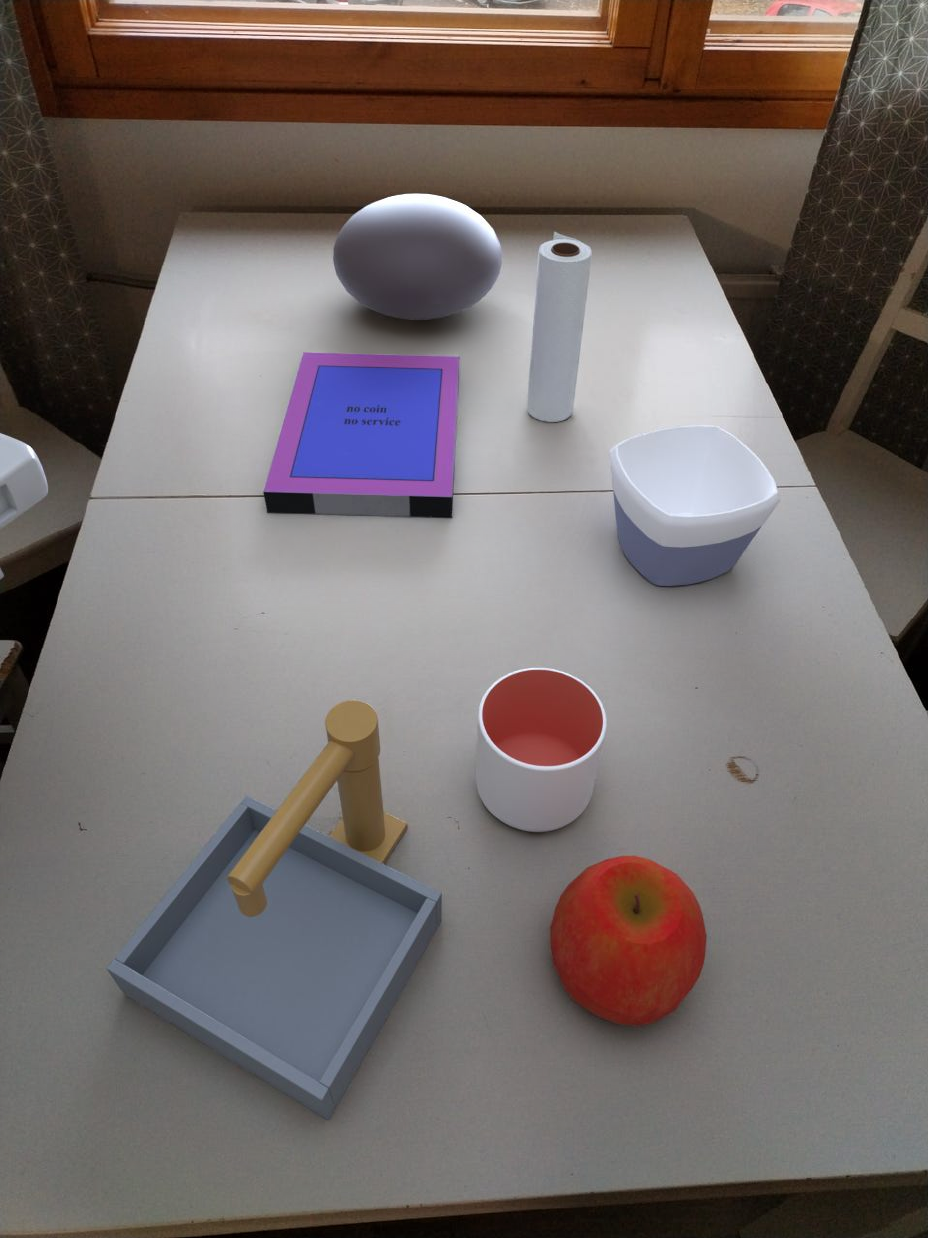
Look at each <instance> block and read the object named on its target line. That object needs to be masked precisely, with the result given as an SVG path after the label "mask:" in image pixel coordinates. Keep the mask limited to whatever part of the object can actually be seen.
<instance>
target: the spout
mask: <svg viewBox="0 0 928 1238" xmlns="http://www.w3.org/2000/svg"><path fill="white" fill-rule="evenodd" d="M378 718H379V717H378V714H377V711H376V710H375V709H374V707H373V706H372V705H370V704H369V703H367V702H365V701H363V700H358V699H350V700H349V699H348V700H345V701H341V702H338V703H337V704H335V705H334V706H333V707H332V708H331V709H330V710H329V711H328V712H327V715H326V717H325V721H324V726H325V732H326V737H327V743H326V745H325V746H324V747H323V748H322V750H321V751H320V753H319V754H318V755H317V757H316V758H315V759H314V761H313V762H312V763H311V765H310V766H309V767H308V769H306V771H305V772H304V774H303V775H302V776H301V778H300V779H299V780H298V781H297V783H296V785H295V786H294V787H293V789H292V790H291V791H290V793H289V794H288V795H287V797H286V798H285V799H284V801H283V802H282V803H281V804H280V806H279V807H278V809H276V810H277V811H276V813H275V814H274V815H273V816H272V818H271V819H270V820H269V822H268V823H267V824H266V826H265V827H264V828H263V830H262V831H261V832H260V834H259V835H258V836H257V838H256V839H255V840H254V842H253V843H252V844H251V846H250V847H249V848H248V850H247V851H246V852H245V854H244V855H243V856H242V858H241V859H240V860H239V862H238V863H237V864H236V866H235V867H234V868H233V870H232V871H231V872H230V874H229V875H228V876H227V881H228V882H229V884H230V885H231V888H232V891H233V894H234V897H235V899H236V902H237V905H238V907H239V910H240V912H241V913H242V914H243V915H245V916H247V917H254V916H257V915H259V914H261V913H262V912H263V911H264V910H265V908H266V906H267V897H266V894H265V891H264V888H263V885H262V884H263V882H264V881H265V880H266V878H267V877H268V875H269V874H270V873H271V871H272V870H273V868H274V867H275V866H276V864H277V863H278V861H279V860H280V859H281V857H282V856H283V854H284V853H285V852H286V850H287V849H288V848H289V846H290V845H291V843H292V842H293V841H294V839H295V838H296V836H297V835H298V834H299V832H300V831H301V829H302V828H303V827H304V825H307V823H308V821H309V820H310V819H311V817H312V816H313V814H314V813H315V812H316V810H317V808H318V807H319V806H320V804H321V803H322V802H323V800H324V799H325V798H326V796H327V795H328V793H329V792H330V791H331V789H332V788H333V787H334V785H335V783H337V779H338V778H339V777H340V775H341V774H342V772H343V771H344V770H347V771H360V770H364V769H366V768H368V767H370V766H371V765H373V764H374V763H375V761H376V760H377V759H378V758H379V757H380V754H381V741H380V727H379V719H378Z"/></svg>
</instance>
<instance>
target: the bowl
mask: <svg viewBox="0 0 928 1238" xmlns="http://www.w3.org/2000/svg"><path fill="white" fill-rule="evenodd" d="M608 454H609V455H608V456H609V466H610V467H609V468H610V475H611V487H612V494H613V503H614V514H615V524H616V532H617V533H616V535H617V539H618V542H619V544H620V547H621V549H622V552H623V554H624V555H625V557H626V559H627V560H628V561H629V562H630V564H631V565H632V566H633V567H634V569H636V571H637V572H639V573H640V574H641V575H642V576H643V577H644V578H645V579H646V581H648V582H650V583H651V584H653V585H654V586H661V587H674V586H686V585H692V584H698V583H703V582H706V581H709V580H712V579H715V578H717V577H720V576H722V575H724V574H726V573H727V572H729V571H731V570H732V569H733V568H734V566H735V565H736V564H737V562H738V561H739V560H740V558H741V557H742V555H743V554H744V552H745V550H747V548H748V547H749V545H750V544H751V542H752V541H753V540H754V538H755V537H756V536H757V534H758V532H759V531H760V530H761V528H762V527H763V526H764V524H765V523H767V520H768V519H769V518H770V516H771V515H772V513H773V512H774V511H775V509H776V508H777V506H778V505H779V503H780V502H781V498H780V493H779V490H778V485H777V483H776V480H775V478H774V477H773V476H772V474H771V473H770V471H769V469H768V468H767V466H765V464H764V463H763V462H762V460H761V459H760V458H759V456H758V455H757V454H756V453H755V452H754V451H753V450H752V449H750V448H749V446H747V445H746V444H745V443H744V442H742V441H741V440H740V439H738V437H736V435H734V434H733V433H730V432H729V431H727V430H726V429H724V428H722V427H720V426H718V425H712V424H711V425H709V424H691V425H679V426H671V427H665V428H659V429H654V430H651V431H647V432H643V433H639V434H636V435H633V436H631V437H628V438H626V439H624V440H622V441H620V442H619V443H616V444H615V445H614V446H613V447H612V448H611V449H610V451H609V453H608Z"/></svg>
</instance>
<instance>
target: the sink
mask: <svg viewBox="0 0 928 1238" xmlns="http://www.w3.org/2000/svg"><path fill="white" fill-rule="evenodd" d="M277 810H278V809H275V808H272V807H271V806H269V805H267V804H265V803H263V802H260V801H258V800H257V799H255V798H252V797H251V796H249V795H244V797H243V799H242V800H241V801H240V802H239V803H238V805H237V806H236V807H235V808H234V809H233V811H231V813H230V815H229V816H228V817H227V818H226V819H225V821H224V822H223V823H222V824H221V826H220V827H219V828H218V829H217V831H215V833H214V834H213V836H212V837H211V838H209V841H208V842H206V843H205V845H204V846H203V848H202V849H201V851H200V852H199V853H198V854H197V856H196V857H195V858H194V859H193V860H192V861H191V863H190V864H189V865H188V866H187V868H185V870H184V871H183V872H182V874H181V875H180V876H179V878H178V879H177V880H176V881H175V882H174V884H173V885H172V886H171V887H170V889H169V890H168V891H167V893H166V894H165V895H164V896H163V898H161V900H160V901H159V903H158V904H157V905H156V906H155V907H154V909H152V911H151V912H150V913H149V915H148V916H147V917H146V919H144V921H142V924H140V925H139V927H138V928H137V930H136V931H135V932H134V933H133V934H132V936H131V937H130V938H129V939H128V941H127V942H126V943H125V944H124V945H123V947H122V948H121V949H120V951H119V952H118V953H117V955H115V957H114V959H112V961H111V962H110V963H109V964H108V966H107V967H106V971H107V972H108V973H109V975H110V977H111V978H112V979H113V981H114V982H115V983H116V985H117V987H118V988H119V990H120V991H121V992H122V994H123V995H125V996H126V997H128V998H129V999H131V1000H133V1001H134V1002H135V1003H137V1004H139V1005H141V1006H143V1007H144V1008H145V1009H148V1010H149V1011H150V1012H153V1013H154V1014H155V1015H156V1016H159V1017H160V1018H162V1019H163V1020H165V1021H167V1022H168V1023H170V1024H171V1025H173V1026H175V1027H176V1028H178V1029H180V1030H181V1031H182V1032H184V1033H186V1034H187V1035H189V1036H191V1037H193V1038H194V1039H195V1040H197V1041H199V1042H201V1043H202V1044H203V1045H205V1046H207V1047H209V1048H210V1049H212V1050H213V1051H215V1052H217V1053H218V1054H220V1055H222V1056H223V1057H225V1058H226V1059H228V1060H229V1061H231V1062H233V1063H234V1064H236V1065H238V1066H239V1067H241V1068H242V1069H244V1070H246V1071H247V1072H249V1073H251V1074H252V1075H254V1076H256V1078H259V1079H261V1080H262V1081H264V1082H265V1083H267V1084H268V1085H270V1086H272V1087H273V1088H275V1089H276V1090H278V1091H280V1092H282V1093H283V1094H284V1095H286V1096H288V1097H290V1099H293V1100H294V1101H296V1102H298V1103H299V1104H301V1105H303V1106H304V1107H305V1108H307V1109H309V1110H311V1111H312V1112H314V1113H315V1114H317V1115H318V1116H320V1117H322V1118H324V1119H325V1120H327V1121H330V1119H331V1117H332V1115H333V1113H334V1112H335V1110H336V1108H337V1106H338V1105H339V1103H340V1101H341V1100H342V1098H343V1096H344V1094H345V1092H346V1091H347V1090H348V1087H349V1085H350V1084H351V1082H352V1080H353V1078H354V1076H355V1075H356V1073H357V1071H358V1070H359V1067H360V1066H361V1064H362V1063H363V1060H364V1059H365V1057H366V1055H367V1053H368V1052H369V1050H370V1048H371V1046H372V1045H373V1043H374V1041H375V1039H376V1037H377V1036H378V1034H379V1032H380V1030H381V1029H382V1027H383V1025H384V1024H385V1022H386V1020H387V1018H388V1017H389V1014H390V1013H391V1011H392V1009H393V1007H394V1006H395V1004H396V1003H397V1000H398V998H399V997H400V995H401V993H402V992H403V990H404V988H405V986H406V984H407V983H408V982H409V979H410V978H411V975H412V974H413V972H414V970H415V969H416V967H417V965H418V963H419V961H420V960H421V958H422V956H423V955H424V952H425V951H426V949H427V947H428V946H429V944H430V942H431V941H432V938H433V937H434V935H435V934H436V931H437V930H438V928H439V926H440V924H441V922H442V919H443V918H442V917H443V916H442V915H443V911H442V910H443V909H442V908H443V906H442V905H443V903H442V898H443V897H442V896H443V895H442V894H443V893H442V892H440V891H438V890H437V889H435V888H432V887H430V886H429V885H427V884H425V883H423V882H420V881H419V880H417V879H414V878H412V877H411V876H409V875H406V874H404V873H402V872H400V871H399V870H396V869H394V868H393V867H390V866H388V865H387V864H382V863H380V862H378V861H376V860H374V859H372V858H370V857H368V856H366V855H364V854H362V853H360V852H358V851H356V850H354V849H352V848H350V847H348V846H346V845H344V844H342V843H340V842H338V841H336V840H334V839H333V838H331V837H329V836H330V835H329V836H328V835H326V834H325V833H322V832H321V831H318V830H316V829H315V828H313V827H310V826H309V825H307V824H305V825H304V827H303V828H302V829H301V831H300V832H299V834H298V835H297V836H296V838H295V839H294V841H293V842H292V843H291V845H290V846H289V848H288V849H287V850H286V852H285V853H284V854H283V856H282V857H281V859H280V860H279V861H278V863H277V864H276V866H275V867H274V868H273V870H272V871H271V873H270V874H269V875H268V877H267V878H266V880H265V881H264V882H263V884H262V885H263V888H264V891H265V894H266V897H267V906H266V908H265V910H264V911H263V912H262V913H261V914H259V915H257V916H254V917H247V916H245V915H243V914H242V913H241V912H240V910H239V907H238V905H237V902H236V899H235V897H234V894H233V891H232V888H231V885H230V884H229V882H228V881H227V876H228V875H229V874H230V872H231V871H232V870H233V868H234V867H235V866H236V864H237V863H238V862H239V860H240V859H241V858H242V856H243V855H244V854H245V852H246V851H247V850H248V848H249V847H250V846H251V844H252V843H253V842H254V840H255V839H256V838H257V836H258V835H259V834H260V832H261V831H262V830H263V828H264V827H265V826H266V824H267V823H268V822H269V820H270V819H271V818H272V816H273V815H274V814H275V813H276V811H277Z"/></svg>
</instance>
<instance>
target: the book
mask: <svg viewBox="0 0 928 1238" xmlns="http://www.w3.org/2000/svg"><path fill="white" fill-rule="evenodd" d="M460 359H461V357H460V356H459V355H427V354H425V355H424V354H423V355H422V354H390V353H389V354H388V353H387V354H386V353H385V354H384V353H350V352H349V353H348V352H347V353H346V352H313V351H312V352H310V351H303V352H302V355H301V359H300V362H299V366H298V369H297V371H296V376H295V379H294V383H293V386H292V389H291V393H290V397H289V400H288V404H287V408H286V411H285V415H284V418H283V422H282V425H281V429H280V432H279V435H278V439H277V443H276V446H275V450H274V452H273V453H274V454H273V457H272V460H271V463H270V467H269V470H268V473H267V478H266V481H265V484H264V487H263V491H262V493H263V498H264V503H265V509H266V513H267V514H291V515H295V514H297V515H325V516H326V515H328V516H329V515H331V516H360V517H361V516H368V517H400V518H434V519H435V518H437V519H438V518H441V519H453V508H454V507H453V506H454V488H455V487H454V486H455V470H456V469H455V468H456V450H457V449H456V448H457V430H458V428H457V427H458V409H459V393H460V392H459V390H460Z"/></svg>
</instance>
